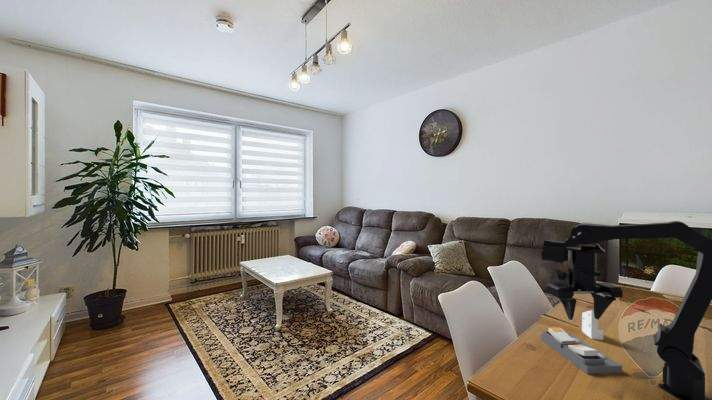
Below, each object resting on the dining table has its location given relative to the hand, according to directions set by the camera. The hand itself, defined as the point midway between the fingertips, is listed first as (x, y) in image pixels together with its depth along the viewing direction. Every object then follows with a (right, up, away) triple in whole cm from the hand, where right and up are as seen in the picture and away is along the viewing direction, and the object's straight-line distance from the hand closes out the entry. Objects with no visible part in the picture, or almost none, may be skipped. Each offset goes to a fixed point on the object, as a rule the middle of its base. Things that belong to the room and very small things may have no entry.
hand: (583, 319), depth 86 cm
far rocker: (-1, -10, +9) cm, 13 cm away
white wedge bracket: (+16, -13, +17) cm, 27 cm away
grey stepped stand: (+2, -13, +5) cm, 14 cm away
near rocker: (0, -10, 0) cm, 10 cm away
